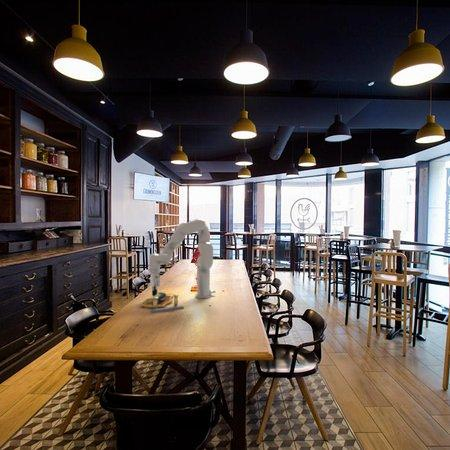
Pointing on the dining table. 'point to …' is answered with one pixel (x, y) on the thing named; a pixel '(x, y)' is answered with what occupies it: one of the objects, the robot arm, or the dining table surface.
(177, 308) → the wall strip
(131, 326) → the dining table surface
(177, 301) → the post
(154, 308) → the post
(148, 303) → the decorative plaque
